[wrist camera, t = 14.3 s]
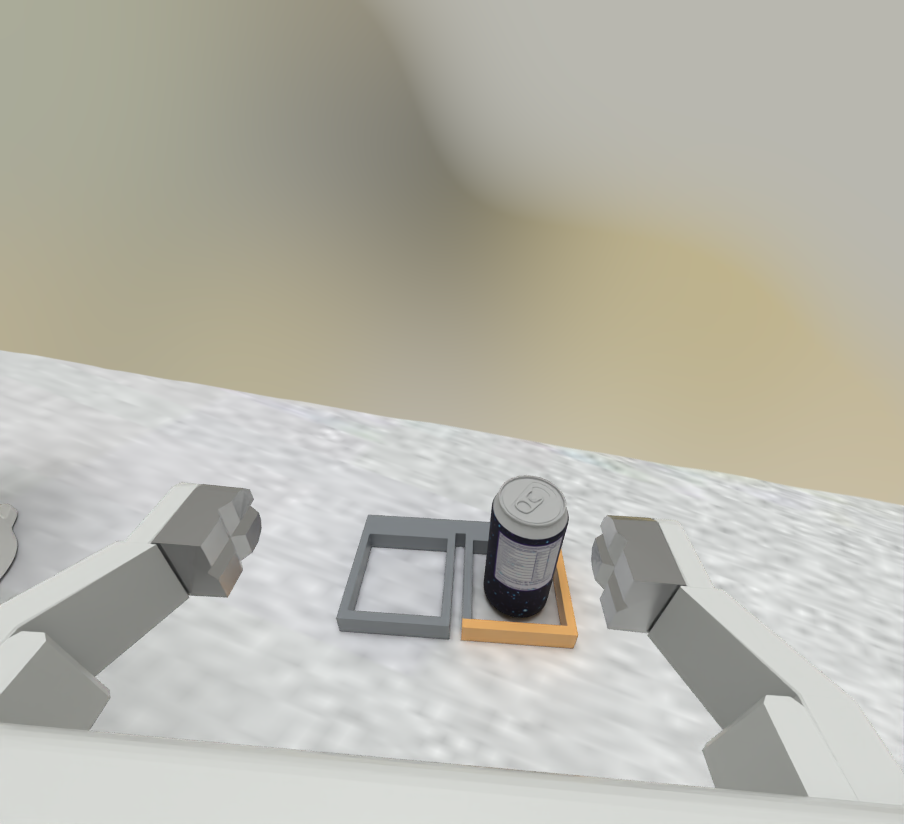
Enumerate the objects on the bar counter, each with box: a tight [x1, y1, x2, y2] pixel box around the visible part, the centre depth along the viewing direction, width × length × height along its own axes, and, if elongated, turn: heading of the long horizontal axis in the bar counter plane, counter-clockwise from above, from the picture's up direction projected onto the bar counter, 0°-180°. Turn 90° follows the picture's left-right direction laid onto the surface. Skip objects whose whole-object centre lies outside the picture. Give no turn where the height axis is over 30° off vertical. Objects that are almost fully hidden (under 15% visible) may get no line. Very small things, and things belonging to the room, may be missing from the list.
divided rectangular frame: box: [336, 515, 578, 648], centre depth 36 cm, size 19×11×2 cm, turn 86°
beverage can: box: [484, 475, 569, 618], centre depth 32 cm, size 6×6×12 cm
